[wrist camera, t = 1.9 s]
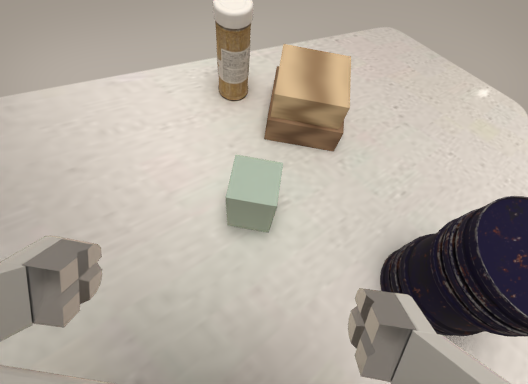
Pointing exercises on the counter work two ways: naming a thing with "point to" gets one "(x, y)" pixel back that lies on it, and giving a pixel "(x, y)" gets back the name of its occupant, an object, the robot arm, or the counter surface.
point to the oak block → (312, 87)
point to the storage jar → (469, 271)
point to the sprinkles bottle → (233, 45)
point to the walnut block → (301, 131)
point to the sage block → (253, 193)
